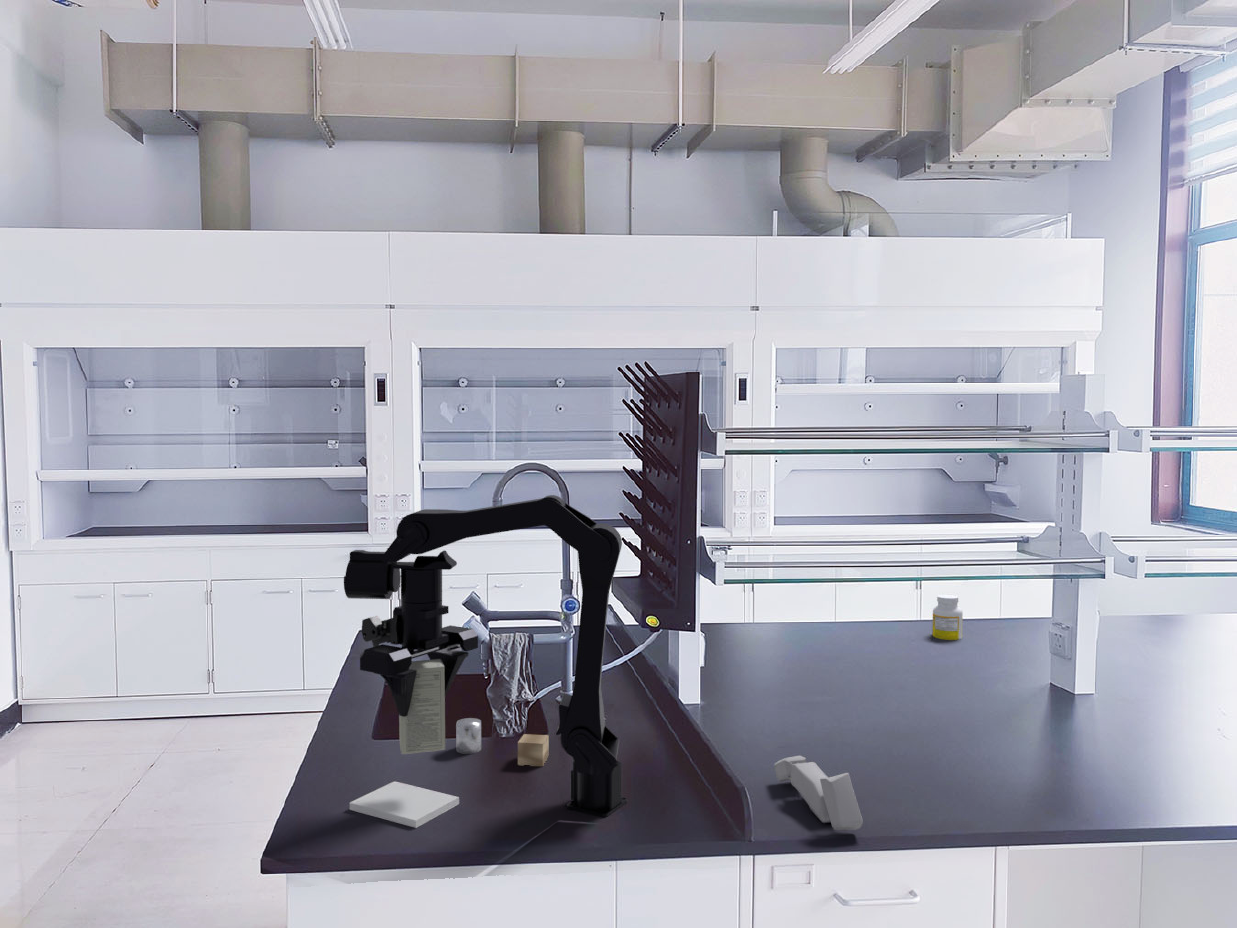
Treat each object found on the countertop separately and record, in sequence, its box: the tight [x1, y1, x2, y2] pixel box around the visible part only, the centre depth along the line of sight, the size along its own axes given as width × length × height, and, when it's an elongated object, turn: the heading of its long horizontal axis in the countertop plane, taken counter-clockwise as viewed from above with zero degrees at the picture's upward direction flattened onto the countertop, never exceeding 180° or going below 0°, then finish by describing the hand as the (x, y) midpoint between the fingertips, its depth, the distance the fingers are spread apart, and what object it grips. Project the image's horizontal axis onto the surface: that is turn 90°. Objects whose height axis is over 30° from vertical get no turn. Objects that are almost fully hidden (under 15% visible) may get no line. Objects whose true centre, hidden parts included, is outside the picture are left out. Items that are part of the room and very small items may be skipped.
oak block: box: [517, 733, 550, 767], centre depth 151 cm, size 4×4×4 cm
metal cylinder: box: [455, 717, 482, 755], centre depth 156 cm, size 4×4×5 cm
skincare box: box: [398, 659, 446, 755], centre depth 135 cm, size 6×4×12 cm
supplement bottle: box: [932, 594, 964, 641], centre depth 225 cm, size 7×7×13 cm
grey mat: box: [349, 781, 460, 829], centre depth 134 cm, size 12×9×1 cm
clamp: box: [773, 755, 864, 832], centre depth 134 cm, size 20×4×7 cm, turn 15°
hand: (421, 708), depth 135 cm, fingers closed on skincare box, 7 cm apart
